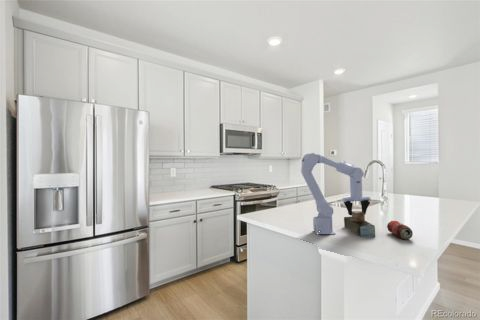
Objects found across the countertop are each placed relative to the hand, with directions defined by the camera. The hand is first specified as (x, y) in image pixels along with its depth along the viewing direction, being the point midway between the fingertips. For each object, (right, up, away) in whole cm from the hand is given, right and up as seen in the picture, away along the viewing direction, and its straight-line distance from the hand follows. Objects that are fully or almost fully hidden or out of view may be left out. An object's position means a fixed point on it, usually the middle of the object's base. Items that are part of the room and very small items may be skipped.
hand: (357, 214), depth 126 cm
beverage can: (+17, -9, -9) cm, 22 cm away
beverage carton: (+2, -10, +1) cm, 10 cm away
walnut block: (+1, -3, 0) cm, 3 cm away
